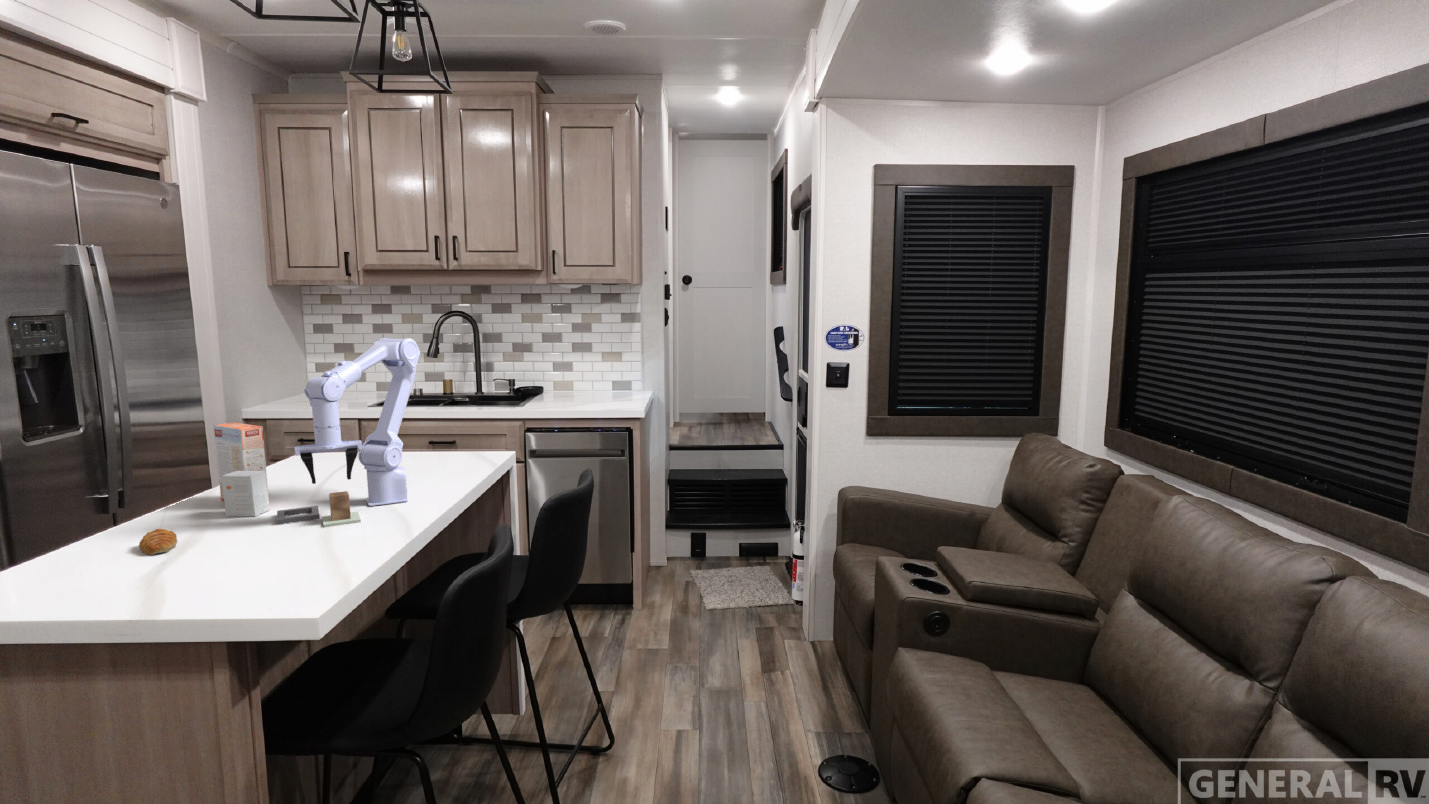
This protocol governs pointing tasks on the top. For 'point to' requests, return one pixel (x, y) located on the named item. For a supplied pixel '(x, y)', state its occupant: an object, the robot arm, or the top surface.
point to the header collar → (282, 519)
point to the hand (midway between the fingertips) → (331, 480)
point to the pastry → (158, 541)
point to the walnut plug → (339, 506)
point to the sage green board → (328, 521)
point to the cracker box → (239, 449)
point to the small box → (245, 493)
